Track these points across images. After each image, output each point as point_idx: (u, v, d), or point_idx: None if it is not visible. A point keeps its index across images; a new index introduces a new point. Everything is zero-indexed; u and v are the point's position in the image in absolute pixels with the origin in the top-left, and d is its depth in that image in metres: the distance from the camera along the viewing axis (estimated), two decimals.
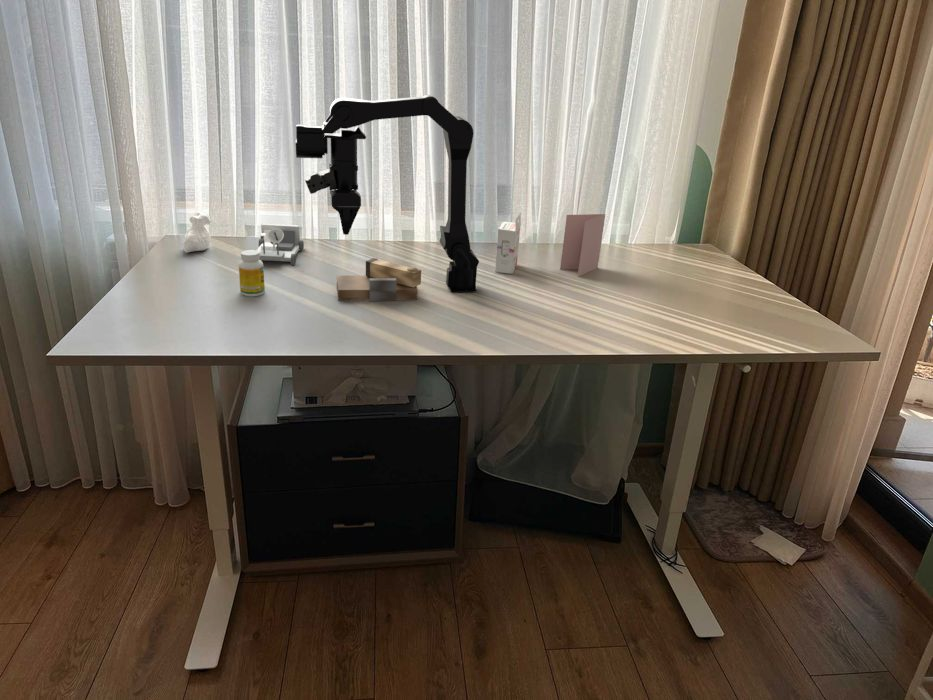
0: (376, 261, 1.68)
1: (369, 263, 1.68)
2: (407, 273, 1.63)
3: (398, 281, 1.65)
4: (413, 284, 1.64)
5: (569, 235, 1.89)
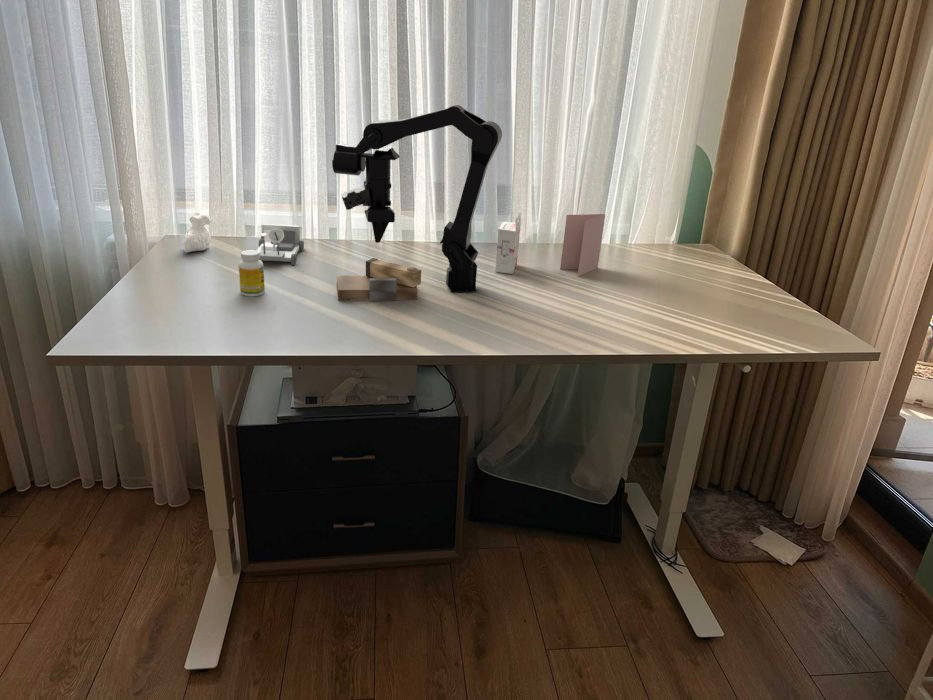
0: (376, 261, 1.68)
1: (369, 263, 1.68)
2: (407, 273, 1.63)
3: (398, 281, 1.65)
4: (413, 284, 1.64)
5: (569, 235, 1.89)
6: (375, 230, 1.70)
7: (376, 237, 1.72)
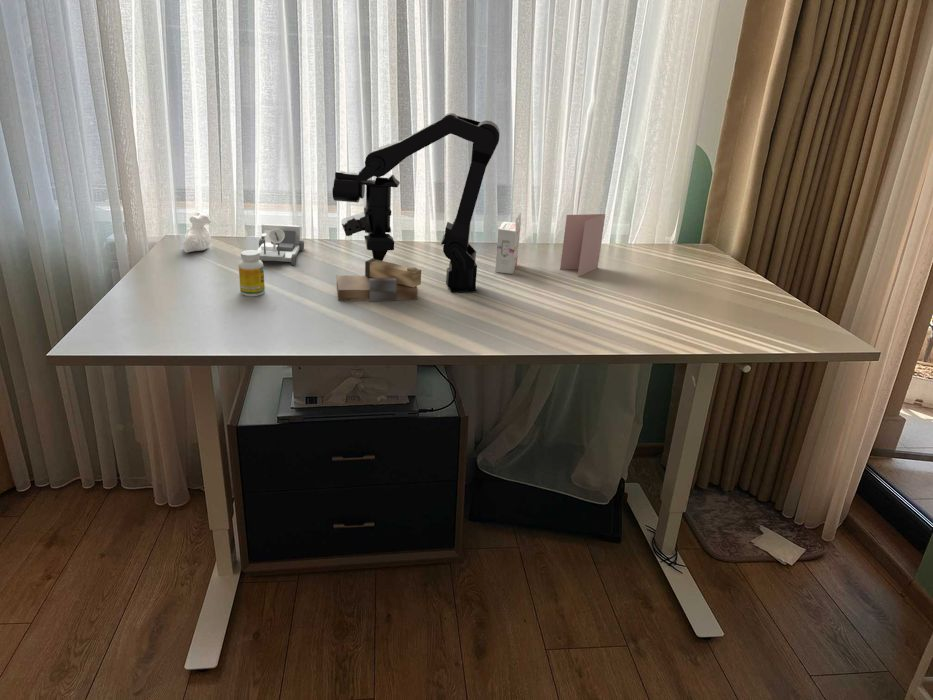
0: (376, 261, 1.68)
1: (369, 263, 1.67)
2: (407, 273, 1.63)
3: (398, 281, 1.65)
4: (413, 284, 1.64)
5: (569, 235, 1.89)
6: (375, 256, 1.71)
7: None
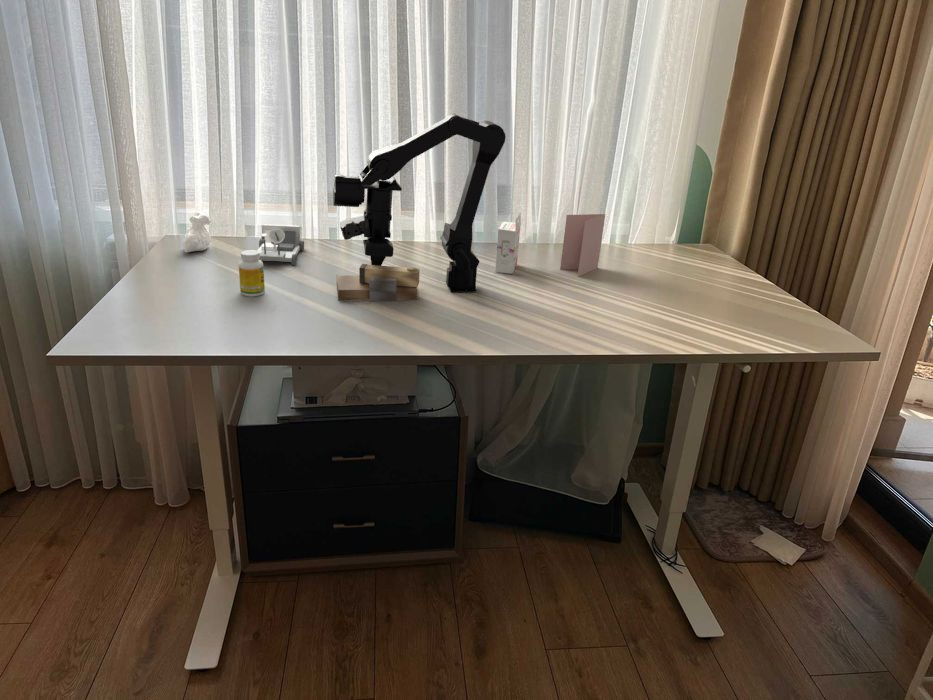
0: (368, 266, 1.65)
1: (364, 269, 1.63)
2: (409, 274, 1.63)
3: (399, 283, 1.64)
4: (416, 284, 1.64)
5: (569, 235, 1.89)
6: (373, 261, 1.66)
7: None
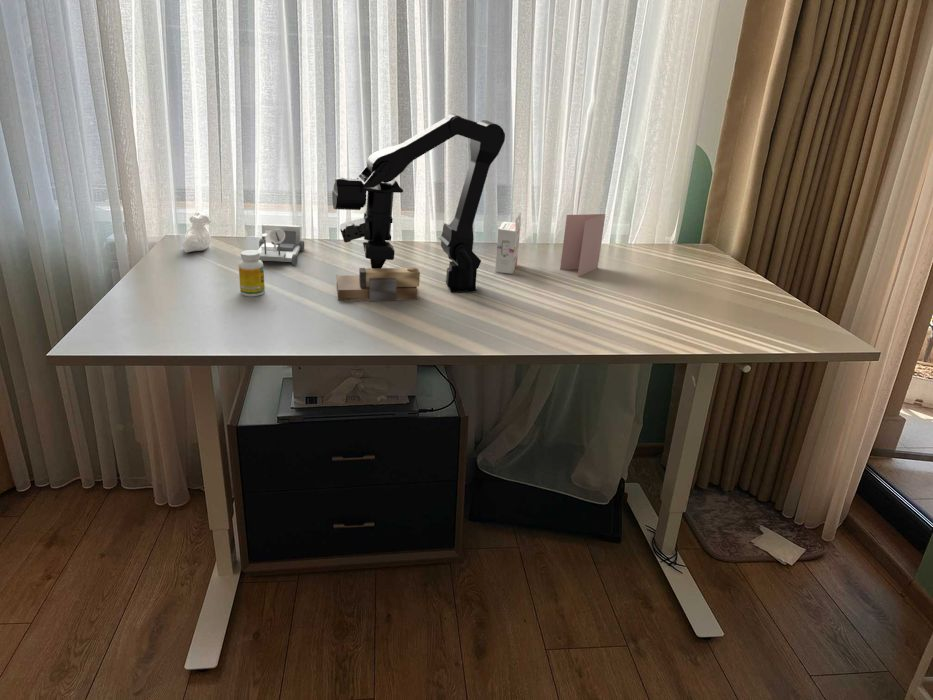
0: (368, 270, 1.62)
1: (365, 273, 1.61)
2: (411, 274, 1.63)
3: (401, 284, 1.63)
4: (418, 283, 1.64)
5: (569, 235, 1.89)
6: (373, 264, 1.63)
7: None
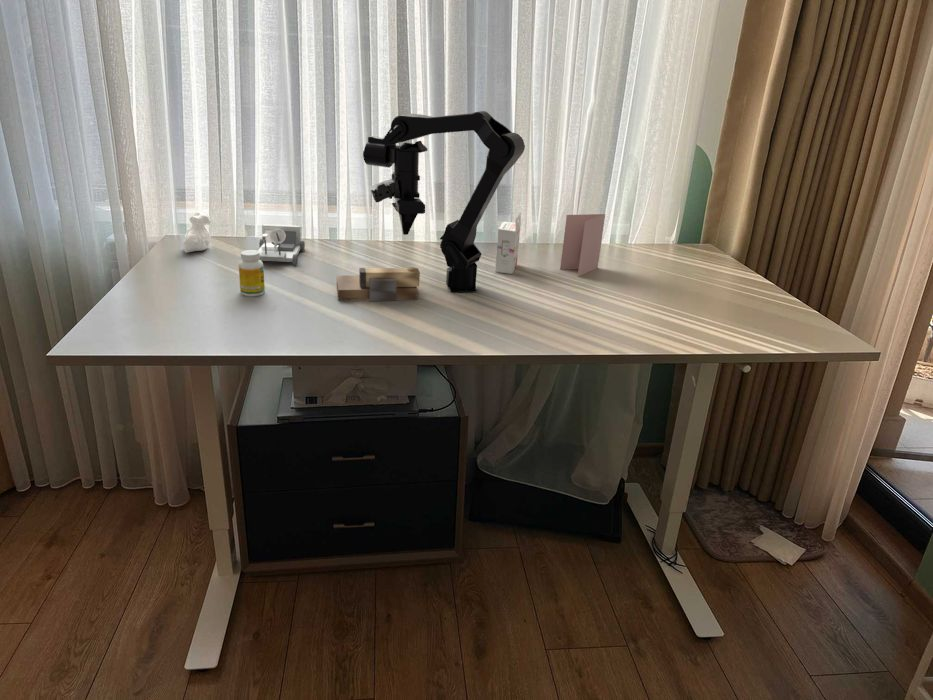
0: (368, 270, 1.62)
1: (365, 273, 1.61)
2: (411, 274, 1.63)
3: (401, 284, 1.63)
4: (418, 283, 1.64)
5: (569, 235, 1.89)
6: (403, 222, 1.72)
7: (404, 229, 1.74)
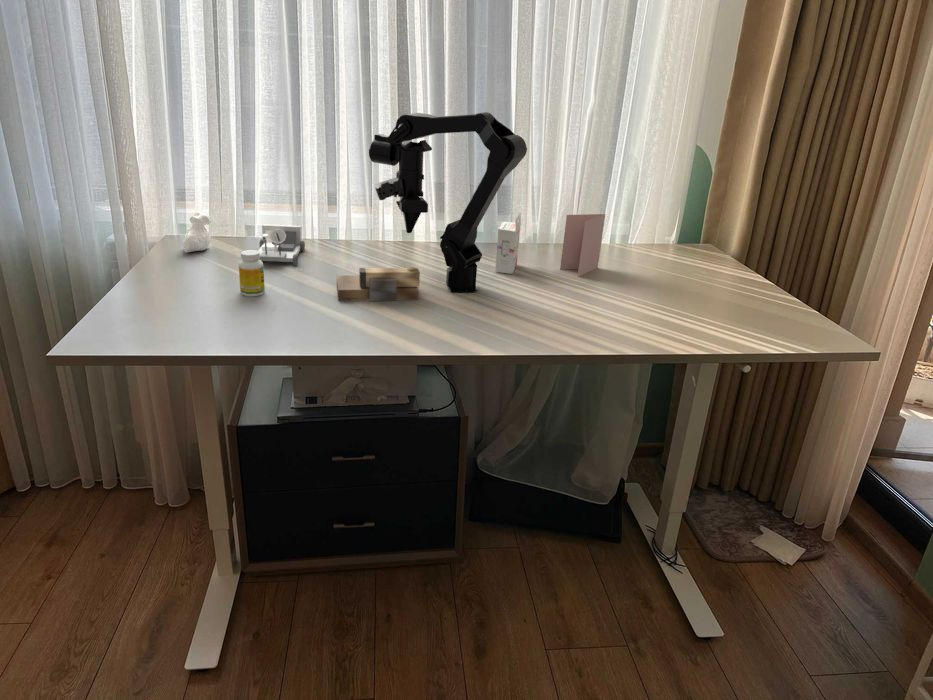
0: (368, 270, 1.62)
1: (365, 273, 1.61)
2: (411, 274, 1.63)
3: (401, 284, 1.63)
4: (418, 283, 1.64)
5: (569, 235, 1.89)
6: (407, 221, 1.73)
7: (408, 228, 1.74)
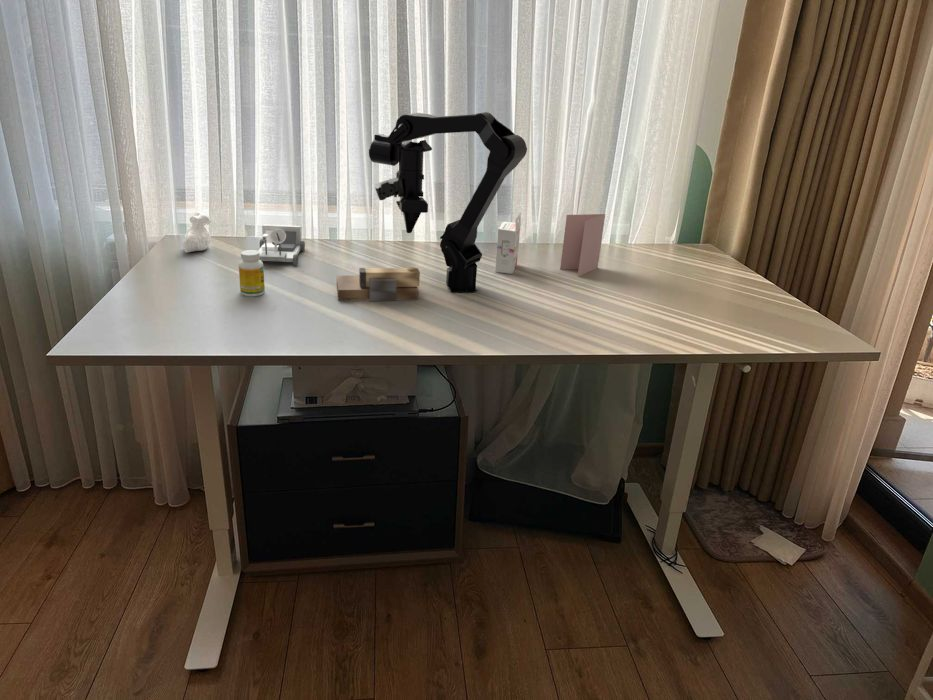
0: (368, 270, 1.62)
1: (365, 273, 1.61)
2: (411, 274, 1.63)
3: (401, 284, 1.63)
4: (418, 283, 1.64)
5: (569, 235, 1.89)
6: (407, 221, 1.73)
7: (408, 228, 1.74)
